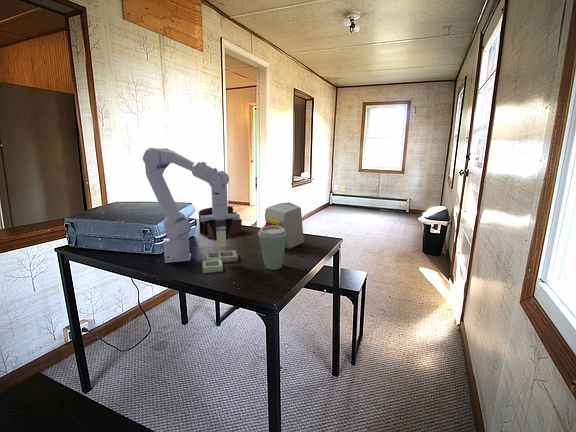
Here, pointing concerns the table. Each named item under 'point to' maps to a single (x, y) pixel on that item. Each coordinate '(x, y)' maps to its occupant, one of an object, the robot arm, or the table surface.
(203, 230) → the letter holder
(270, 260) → the disposable coffee cup
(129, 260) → the table surface
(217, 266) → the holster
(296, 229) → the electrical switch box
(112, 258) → the table surface
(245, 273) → the table surface
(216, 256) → the panel
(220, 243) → the plug
